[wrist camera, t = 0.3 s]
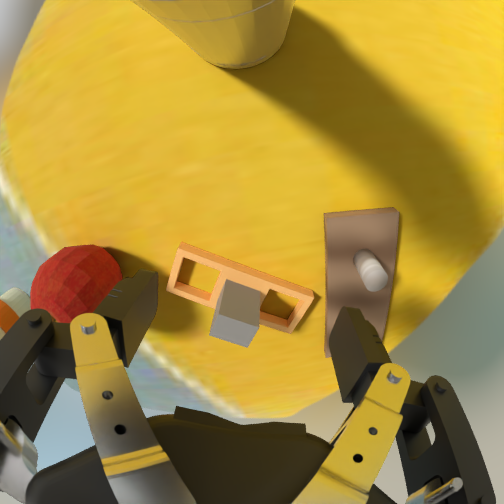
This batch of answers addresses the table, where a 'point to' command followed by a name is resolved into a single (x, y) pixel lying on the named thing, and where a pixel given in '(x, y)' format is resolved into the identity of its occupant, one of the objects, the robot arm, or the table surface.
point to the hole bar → (237, 296)
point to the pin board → (347, 275)
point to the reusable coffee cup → (12, 308)
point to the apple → (74, 282)
